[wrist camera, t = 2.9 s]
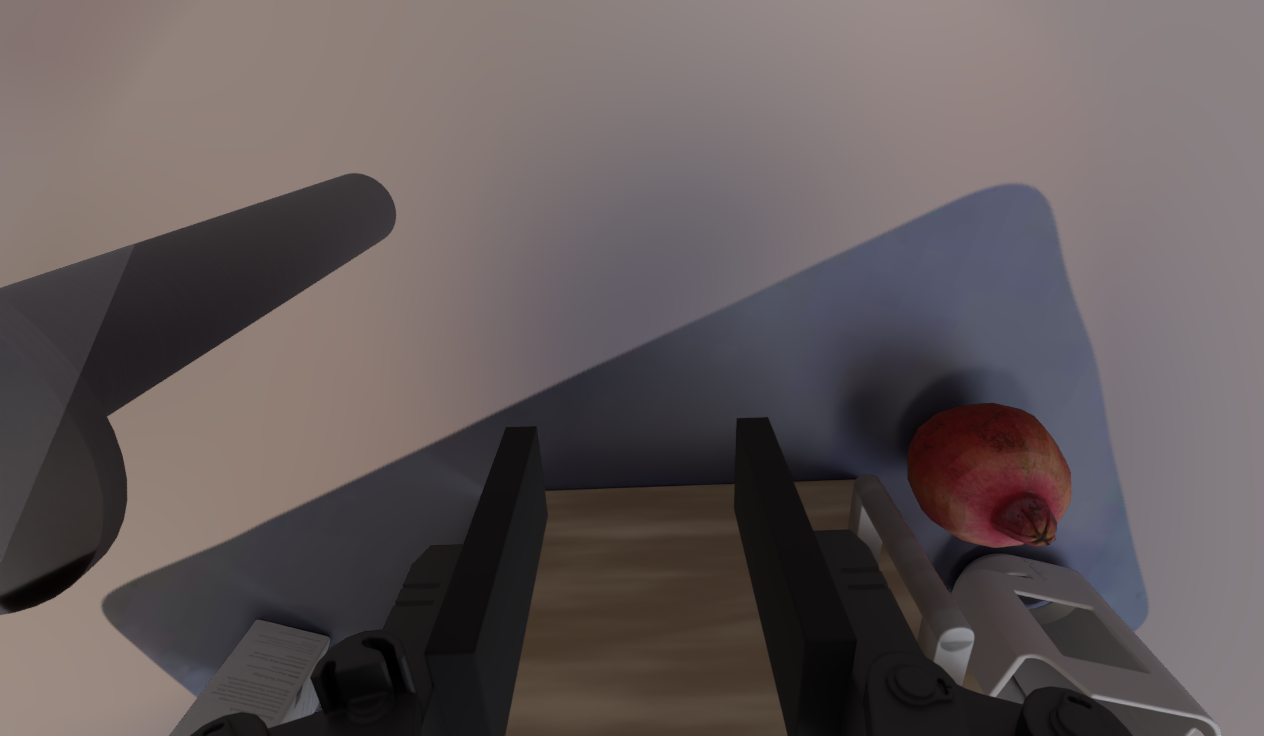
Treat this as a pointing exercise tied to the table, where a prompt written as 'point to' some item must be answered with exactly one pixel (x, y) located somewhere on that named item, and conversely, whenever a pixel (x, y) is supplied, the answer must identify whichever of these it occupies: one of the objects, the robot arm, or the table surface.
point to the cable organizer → (1067, 646)
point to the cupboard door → (690, 611)
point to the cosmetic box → (262, 678)
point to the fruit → (990, 475)
